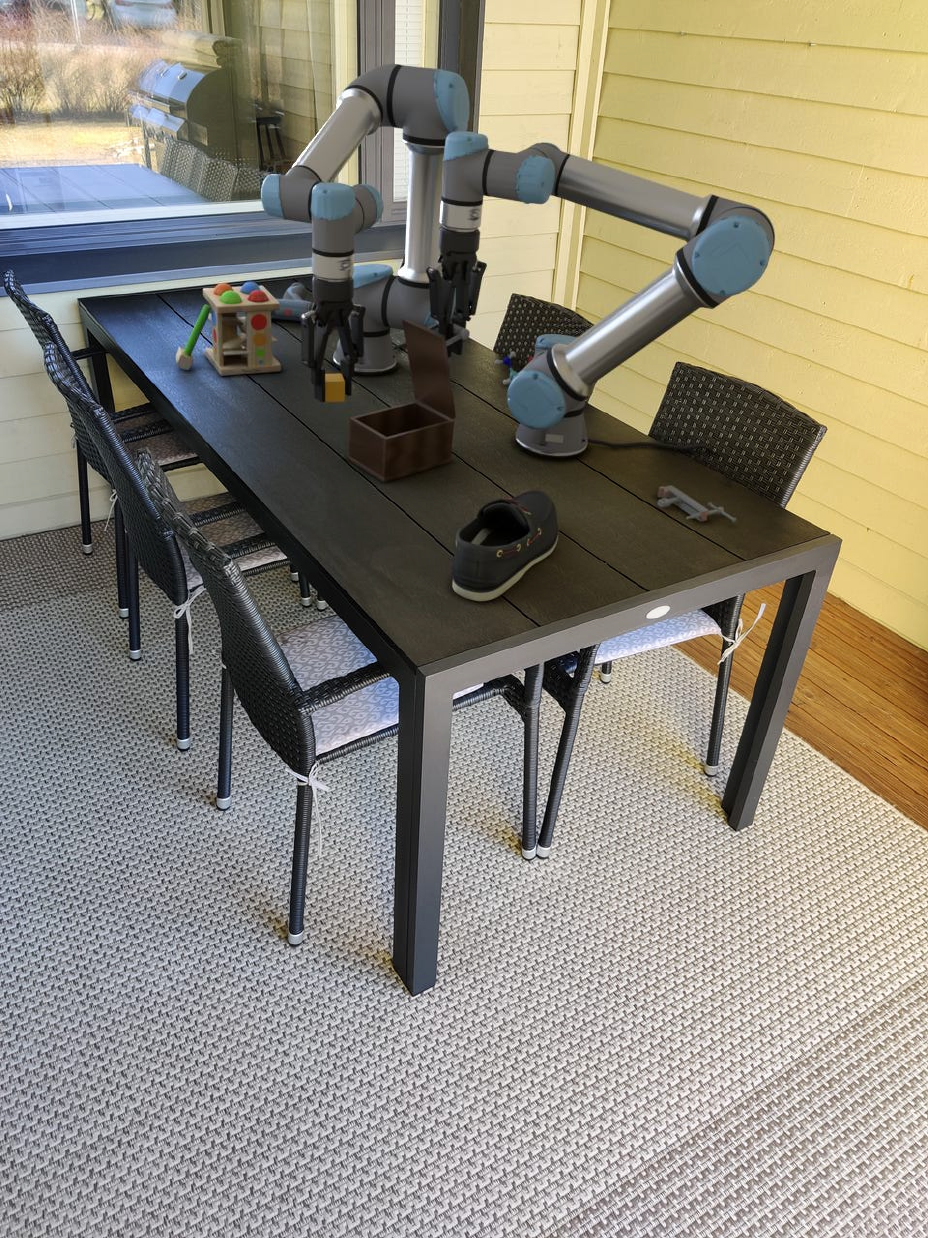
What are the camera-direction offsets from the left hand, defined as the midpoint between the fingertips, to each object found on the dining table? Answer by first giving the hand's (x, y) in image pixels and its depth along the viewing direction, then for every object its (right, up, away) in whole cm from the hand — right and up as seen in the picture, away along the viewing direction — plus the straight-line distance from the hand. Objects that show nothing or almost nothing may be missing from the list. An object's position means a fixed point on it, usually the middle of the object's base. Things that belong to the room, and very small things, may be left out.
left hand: (332, 396), depth 192 cm
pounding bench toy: (-30, +16, +38) cm, 51 cm away
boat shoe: (+33, -33, -24) cm, 52 cm away
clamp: (+69, -23, -5) cm, 73 cm away
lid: (+19, +4, -3) cm, 19 cm away
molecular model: (+38, +12, +42) cm, 58 cm away
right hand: (+23, +8, -1) cm, 24 cm away
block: (0, 0, 0) cm, 0 cm away
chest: (+13, -12, +3) cm, 18 cm away
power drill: (-17, +40, +75) cm, 87 cm away
